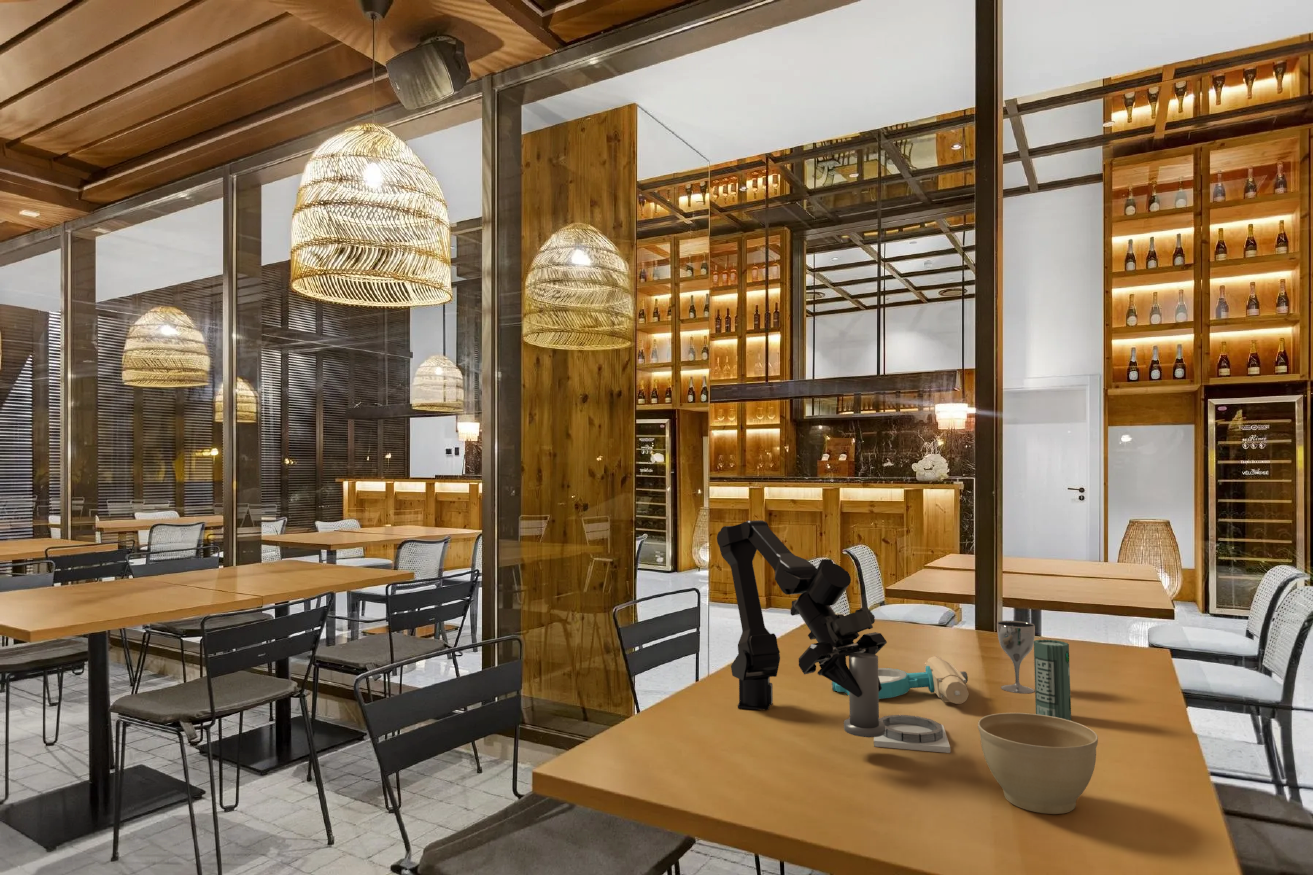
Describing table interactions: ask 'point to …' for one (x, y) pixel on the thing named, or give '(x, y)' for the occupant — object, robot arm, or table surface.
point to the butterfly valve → (923, 681)
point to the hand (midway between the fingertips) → (870, 693)
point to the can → (1052, 678)
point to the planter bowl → (1039, 759)
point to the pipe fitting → (864, 697)
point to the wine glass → (1016, 648)
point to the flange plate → (913, 734)
